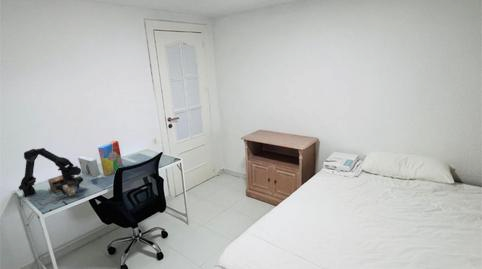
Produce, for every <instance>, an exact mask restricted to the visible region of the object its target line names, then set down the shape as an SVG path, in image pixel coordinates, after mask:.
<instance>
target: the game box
mask: <svg viewBox="0 0 482 269" xmlns="http://www.w3.org/2000/svg"><path fill="white" fill-rule="evenodd" d="M97 149H98V154H99V158H100V163H101V169H102V173H103V176H110V175H111V174H113V173H115V172H116V171H117V170H116V169H117V168H119V167H121V168H123V166H124V165H123V160H122V156H121V150H120V145H119V141H118V140H113V141H110V142H108V143H106V144H103V145H101V146H99V147H97ZM115 170H116V171H115Z"/></svg>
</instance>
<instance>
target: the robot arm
mask: <svg viewBox="0 0 482 269" xmlns="http://www.w3.org/2000/svg"><path fill="white" fill-rule="evenodd" d="M39 155H40V156H42V157H44V158H45V159H47V160H49V161H51V162H53V163H54V164H55V166H56V167H58V169H57V170H58V171H60V172H61V175H62V177H63V180H64V183H63V184H60V183H58V184H55V185H54V189H56V190H61V191H60V192H61V194H64V195H65V194H66V192H65V191H64V190H63V186H65V185H68V187H71V186H73V185H75V183H76V185H75V187H76V190H77V191H79V187H80V184H81V183H82V182H84V178H83V177H82V176H79V175H81V173H82V170H81V167H79V166H78V165H74V164H73V162H72V161H70V160H69V158H66V157H63V156H58V155H57V154H54V153H52V152H50V151H49V150H46V148H44V147H42V148H32V149H30V150H26V151H24V153H23V159H25V161H26V162H25V168H24V169H25V170H24V177H23V178H22V179H21V180H20V185H19V187H18V190H19V191H22V193H23V196H24V197H25V198H26V197H29V196H32V195H33V196H34V195H35V194H36V190H35V187H34V185H35V184H36V180H37V177H35V176H34V169H35V168H34V167H35V161H36V159H37V158H38V156H39ZM71 175H74V176H77V177H75V178H72V176H71ZM73 187H74V186H73Z"/></svg>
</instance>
